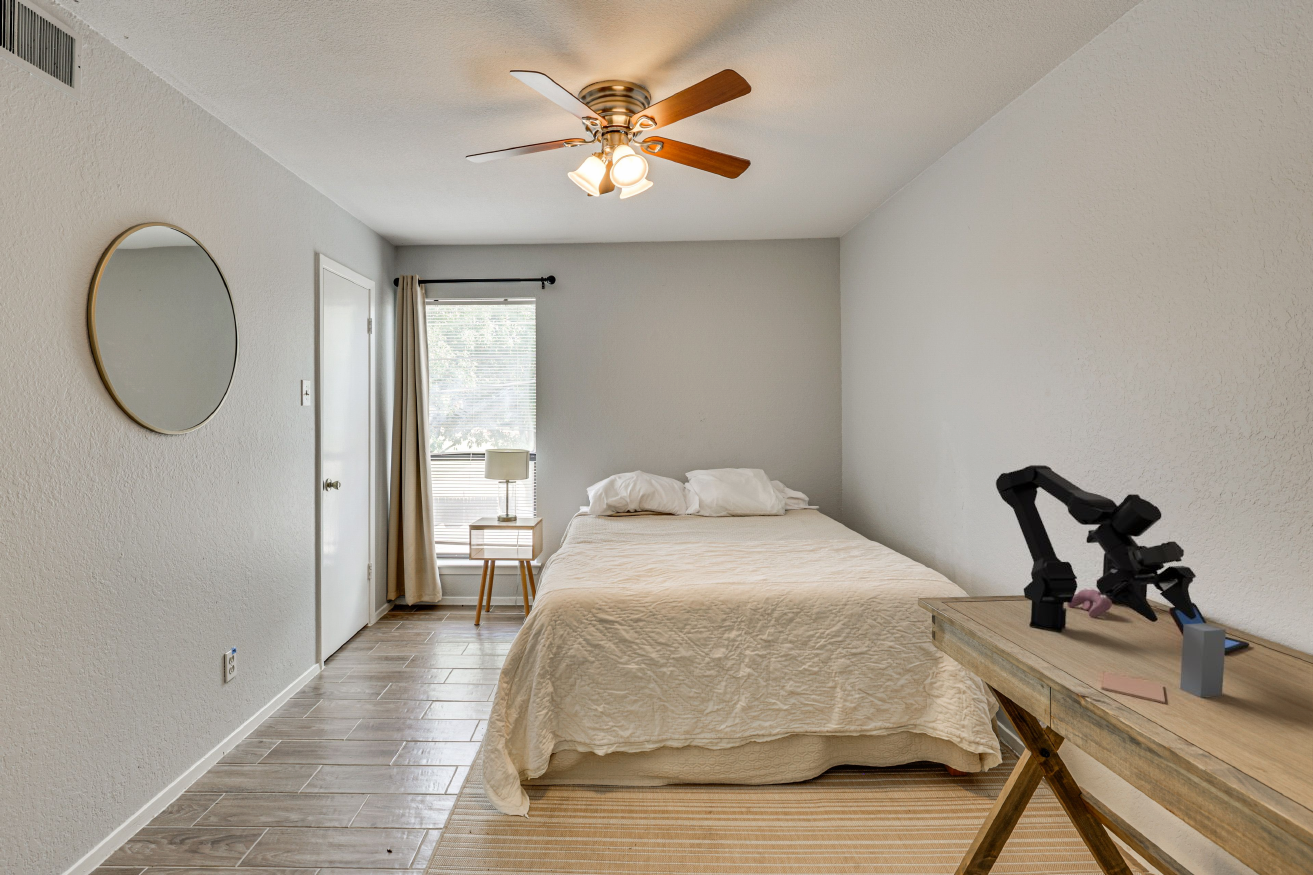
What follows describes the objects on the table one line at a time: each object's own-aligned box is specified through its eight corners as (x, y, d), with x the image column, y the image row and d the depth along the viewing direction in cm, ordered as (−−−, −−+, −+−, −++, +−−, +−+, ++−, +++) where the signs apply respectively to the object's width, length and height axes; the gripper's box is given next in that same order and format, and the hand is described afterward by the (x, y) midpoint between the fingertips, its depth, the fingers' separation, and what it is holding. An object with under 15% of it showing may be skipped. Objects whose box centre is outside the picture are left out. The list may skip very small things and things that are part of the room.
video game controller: (1105, 624, 155) (1119, 600, 155) (1089, 616, 155) (1103, 591, 155) (1078, 612, 165) (1092, 589, 165) (1063, 604, 165) (1076, 581, 165)
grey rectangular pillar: (1180, 688, 115) (1183, 624, 114) (1201, 686, 116) (1204, 622, 115) (1200, 697, 111) (1204, 630, 111) (1222, 695, 112) (1225, 629, 112)
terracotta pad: (1101, 688, 114) (1101, 686, 114) (1102, 673, 121) (1102, 671, 121) (1164, 703, 108) (1164, 701, 108) (1162, 686, 116) (1162, 684, 116)
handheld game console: (1226, 657, 132) (1228, 622, 131) (1165, 640, 141) (1166, 608, 141) (1251, 647, 138) (1253, 614, 137) (1191, 632, 147) (1193, 601, 147)
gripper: (1112, 527, 121) (1168, 600, 110) (1188, 526, 125) (1248, 596, 115) (1075, 559, 129) (1123, 629, 118) (1147, 556, 133) (1200, 624, 122)
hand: (1174, 619), depth 118 cm, fingers open, 9 cm apart
